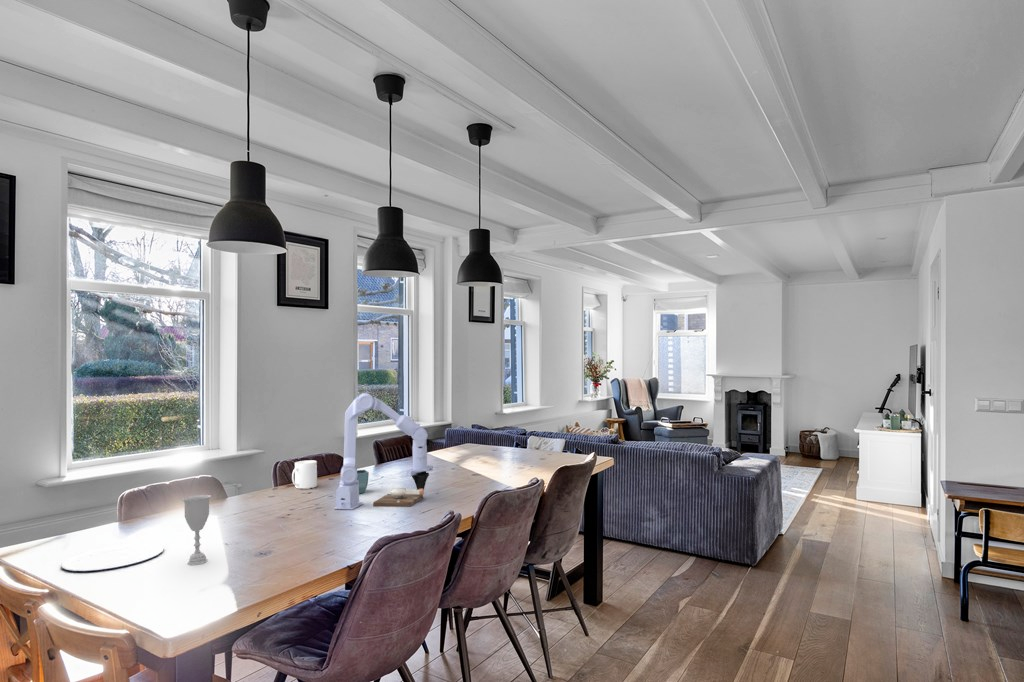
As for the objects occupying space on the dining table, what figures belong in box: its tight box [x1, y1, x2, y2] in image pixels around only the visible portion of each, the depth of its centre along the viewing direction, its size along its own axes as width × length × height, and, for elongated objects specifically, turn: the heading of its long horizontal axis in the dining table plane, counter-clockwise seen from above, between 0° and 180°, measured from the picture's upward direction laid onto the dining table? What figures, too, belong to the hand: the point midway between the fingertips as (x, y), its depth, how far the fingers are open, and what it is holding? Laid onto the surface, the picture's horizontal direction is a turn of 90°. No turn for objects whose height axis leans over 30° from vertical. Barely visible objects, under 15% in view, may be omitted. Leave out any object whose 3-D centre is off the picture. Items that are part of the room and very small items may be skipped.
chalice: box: [182, 494, 212, 566], centre depth 170 cm, size 7×7×18 cm
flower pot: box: [357, 469, 370, 494], centre depth 258 cm, size 9×9×9 cm
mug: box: [291, 459, 318, 489], centre depth 271 cm, size 10×12×12 cm
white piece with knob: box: [390, 487, 425, 496], centre depth 237 cm, size 13×6×2 cm, turn 80°
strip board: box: [372, 493, 424, 508], centre depth 238 cm, size 15×15×3 cm
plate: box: [60, 542, 165, 573], centre depth 175 cm, size 25×25×1 cm
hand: (420, 491), depth 240 cm, fingers closed
